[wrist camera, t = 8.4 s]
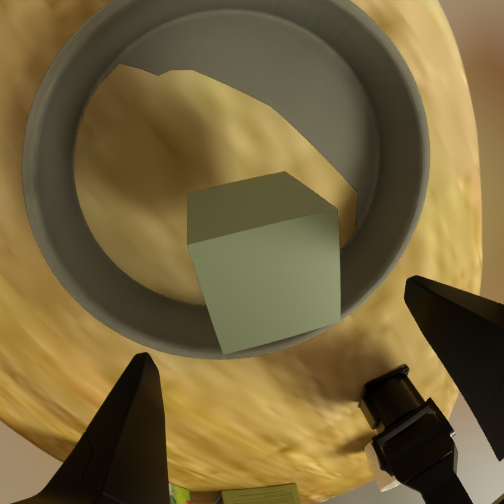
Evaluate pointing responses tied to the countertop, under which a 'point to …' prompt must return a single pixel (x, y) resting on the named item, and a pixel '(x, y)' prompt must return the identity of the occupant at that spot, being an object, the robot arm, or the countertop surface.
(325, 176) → the countertop surface
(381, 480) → the white cup
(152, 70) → the cake pan
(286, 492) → the protein box
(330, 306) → the olive block
